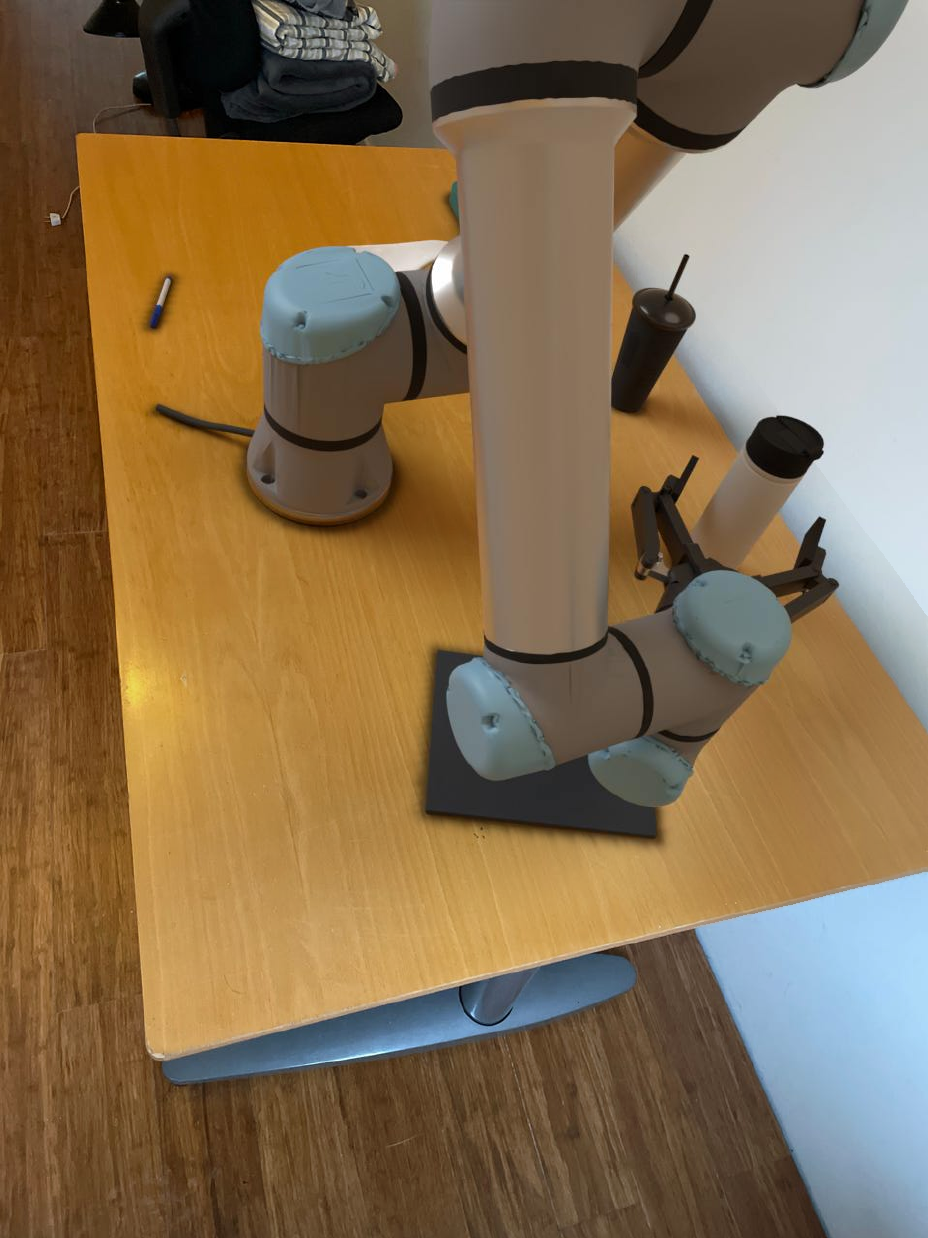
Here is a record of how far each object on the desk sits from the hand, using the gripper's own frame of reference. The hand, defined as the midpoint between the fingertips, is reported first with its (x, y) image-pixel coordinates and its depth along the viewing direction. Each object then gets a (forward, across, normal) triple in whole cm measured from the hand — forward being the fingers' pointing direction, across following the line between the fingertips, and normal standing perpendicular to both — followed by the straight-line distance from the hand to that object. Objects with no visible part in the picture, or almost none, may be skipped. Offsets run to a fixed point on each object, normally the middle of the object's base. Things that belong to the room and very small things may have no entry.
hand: (752, 495), depth 82 cm
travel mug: (-1, 0, -11) cm, 11 cm away
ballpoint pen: (-2, -72, -11) cm, 73 cm away
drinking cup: (+21, -18, -11) cm, 30 cm away
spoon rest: (+19, -52, -11) cm, 56 cm away
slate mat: (-30, -7, -11) cm, 33 cm away
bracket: (+45, -51, -11) cm, 69 cm away
